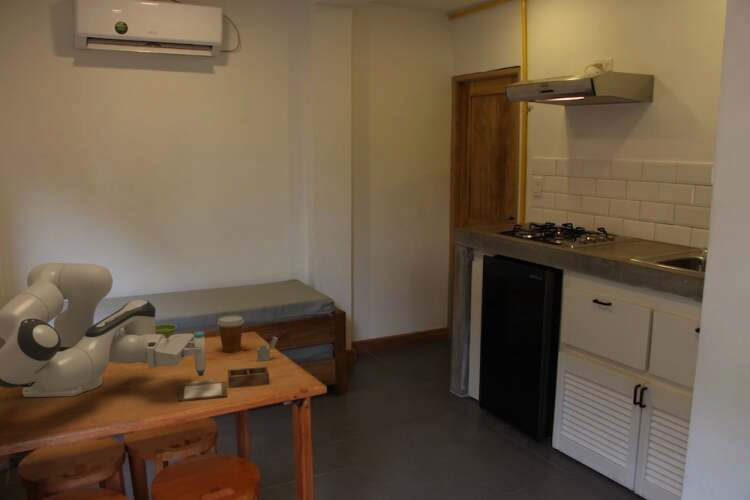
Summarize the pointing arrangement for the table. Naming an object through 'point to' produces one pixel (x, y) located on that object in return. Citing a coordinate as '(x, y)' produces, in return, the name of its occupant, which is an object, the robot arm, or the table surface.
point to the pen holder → (248, 377)
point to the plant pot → (165, 329)
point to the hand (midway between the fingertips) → (202, 348)
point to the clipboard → (202, 390)
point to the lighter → (265, 350)
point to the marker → (200, 357)
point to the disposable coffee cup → (230, 332)
